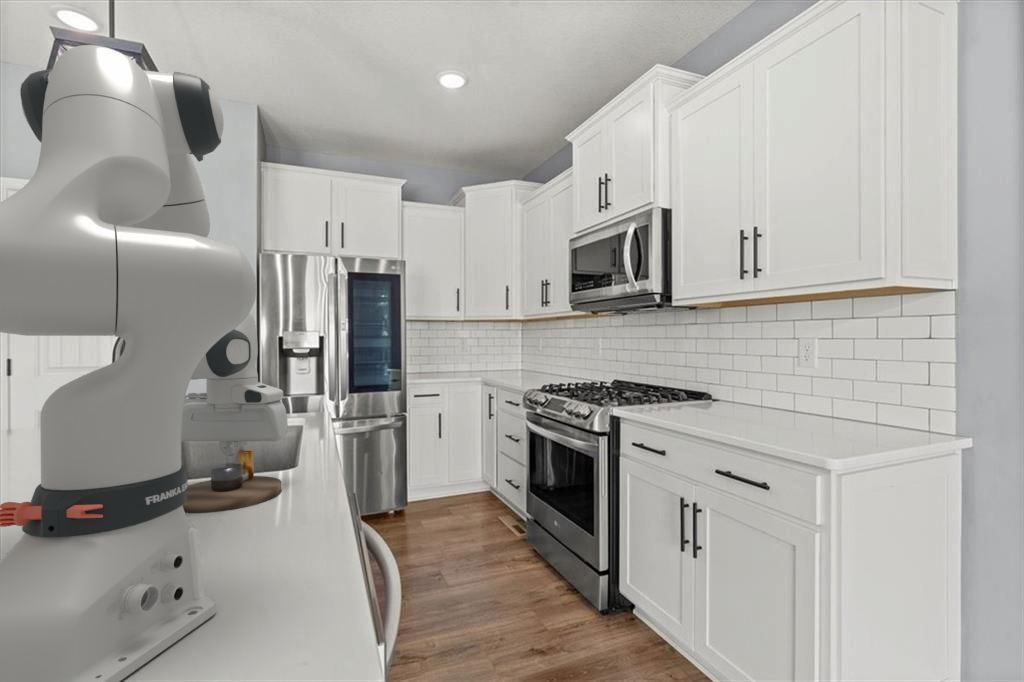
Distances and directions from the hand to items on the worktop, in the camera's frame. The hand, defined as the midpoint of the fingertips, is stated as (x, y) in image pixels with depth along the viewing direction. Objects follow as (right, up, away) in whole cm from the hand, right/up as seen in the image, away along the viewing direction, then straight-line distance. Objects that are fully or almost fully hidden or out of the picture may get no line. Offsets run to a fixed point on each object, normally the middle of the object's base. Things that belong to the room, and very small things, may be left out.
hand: (233, 464), depth 101 cm
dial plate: (+2, -4, -7) cm, 8 cm away
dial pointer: (+3, -3, -4) cm, 6 cm away
